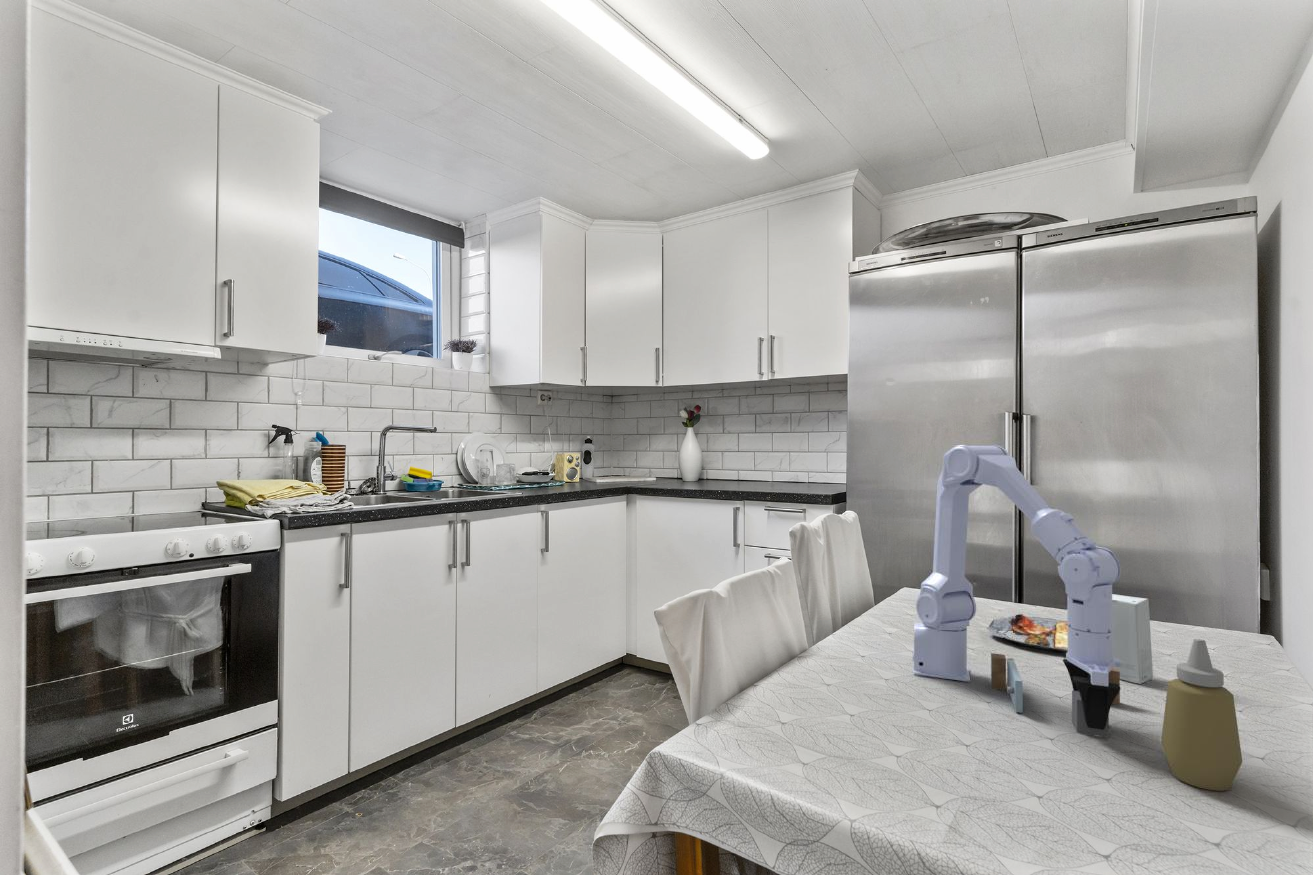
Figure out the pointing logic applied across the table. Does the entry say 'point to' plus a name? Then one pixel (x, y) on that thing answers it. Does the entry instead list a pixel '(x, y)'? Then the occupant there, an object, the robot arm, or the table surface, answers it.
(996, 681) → the door frame
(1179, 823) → the table surface
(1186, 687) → the squeeze bottle
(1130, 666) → the skincare box
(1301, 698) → the table surface
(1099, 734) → the block
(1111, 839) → the table surface
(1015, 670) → the door
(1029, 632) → the food plate
